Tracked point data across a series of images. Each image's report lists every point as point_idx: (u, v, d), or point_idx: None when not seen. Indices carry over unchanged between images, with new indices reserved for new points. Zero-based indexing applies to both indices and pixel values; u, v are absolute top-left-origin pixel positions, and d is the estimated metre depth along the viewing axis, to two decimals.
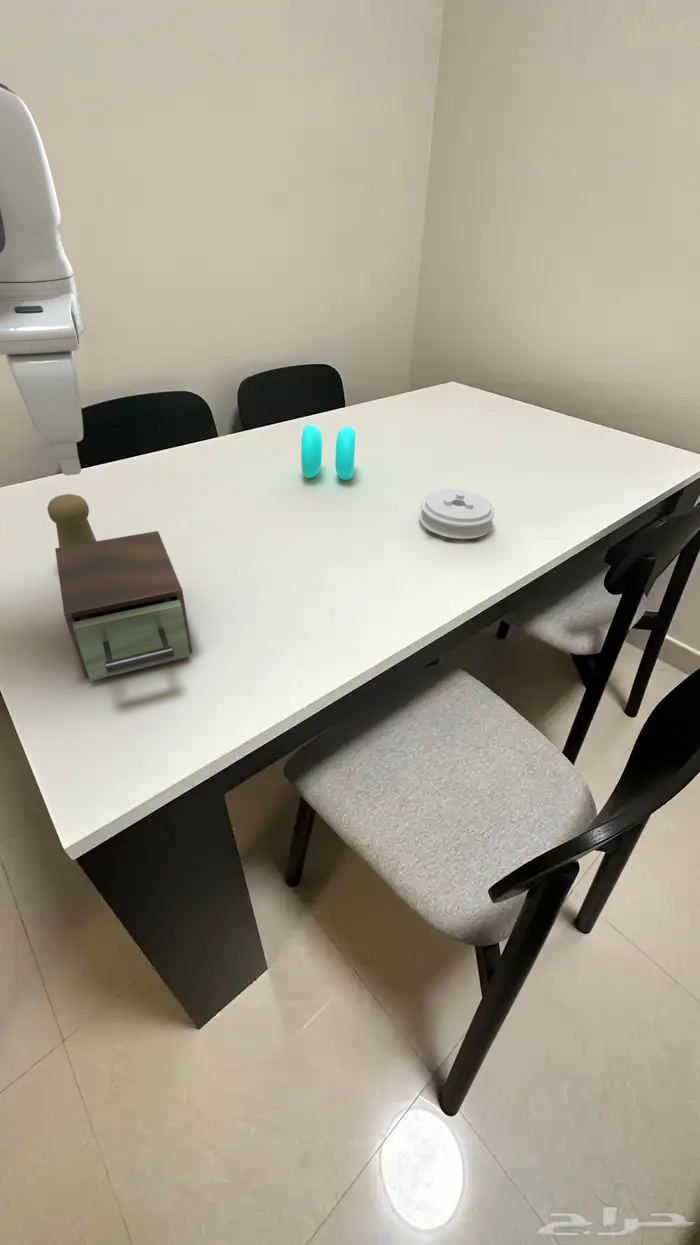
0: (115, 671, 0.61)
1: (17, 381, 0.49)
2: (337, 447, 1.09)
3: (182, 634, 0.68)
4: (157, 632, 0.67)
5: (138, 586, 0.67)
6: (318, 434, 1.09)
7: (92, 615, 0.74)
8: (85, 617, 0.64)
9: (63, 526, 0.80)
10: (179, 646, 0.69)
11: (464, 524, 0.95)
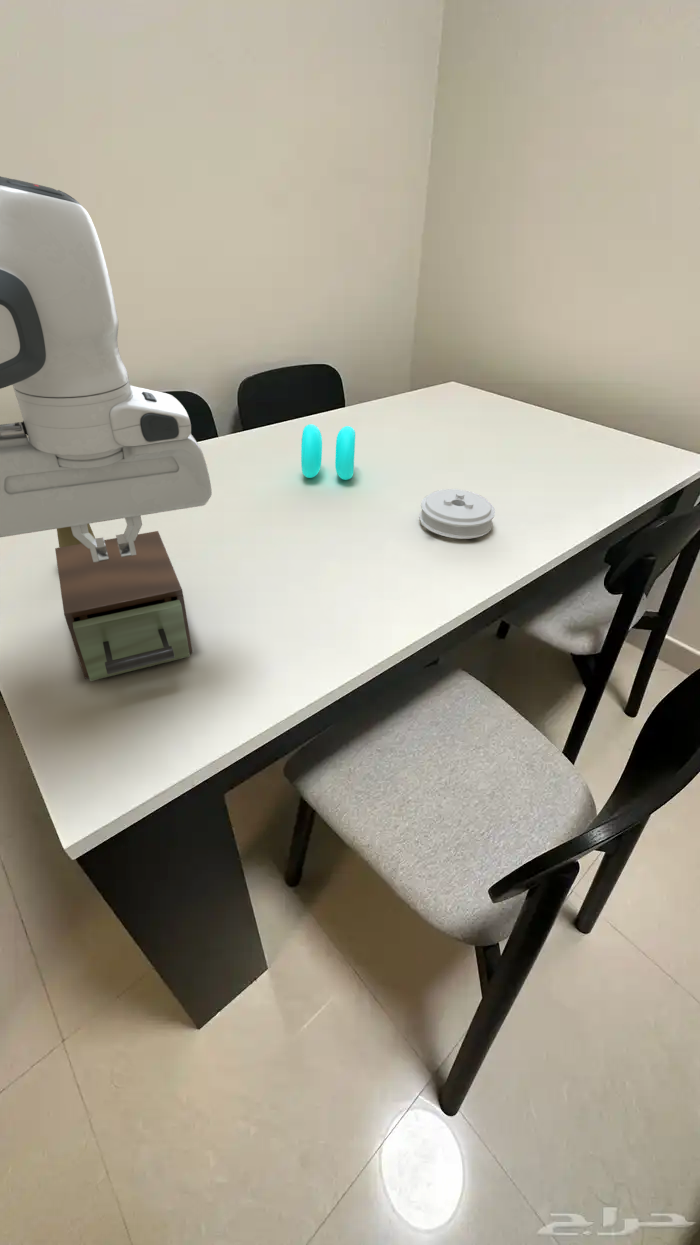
0: (115, 671, 0.61)
1: (201, 453, 0.53)
2: (337, 447, 1.09)
3: (182, 634, 0.68)
4: (157, 632, 0.67)
5: (138, 586, 0.67)
6: (318, 434, 1.09)
7: (92, 615, 0.74)
8: (85, 617, 0.64)
9: None
10: (179, 646, 0.69)
11: (464, 524, 0.95)
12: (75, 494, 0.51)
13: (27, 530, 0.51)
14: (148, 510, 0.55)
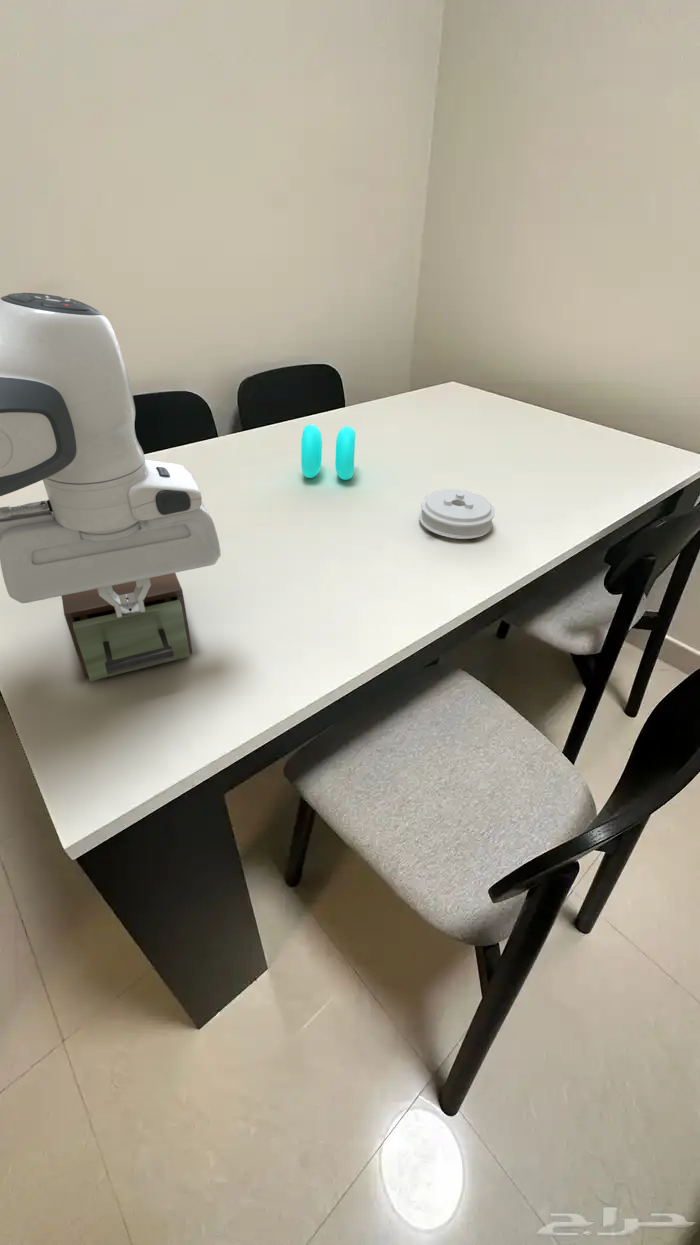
0: (115, 671, 0.61)
1: (211, 520, 0.57)
2: (337, 447, 1.09)
3: (182, 634, 0.68)
4: (157, 632, 0.67)
5: None
6: (318, 434, 1.09)
7: (92, 615, 0.74)
8: (85, 617, 0.64)
9: None
10: (179, 646, 0.69)
11: (464, 524, 0.95)
12: (95, 561, 0.55)
13: (52, 595, 0.56)
14: (162, 571, 0.59)
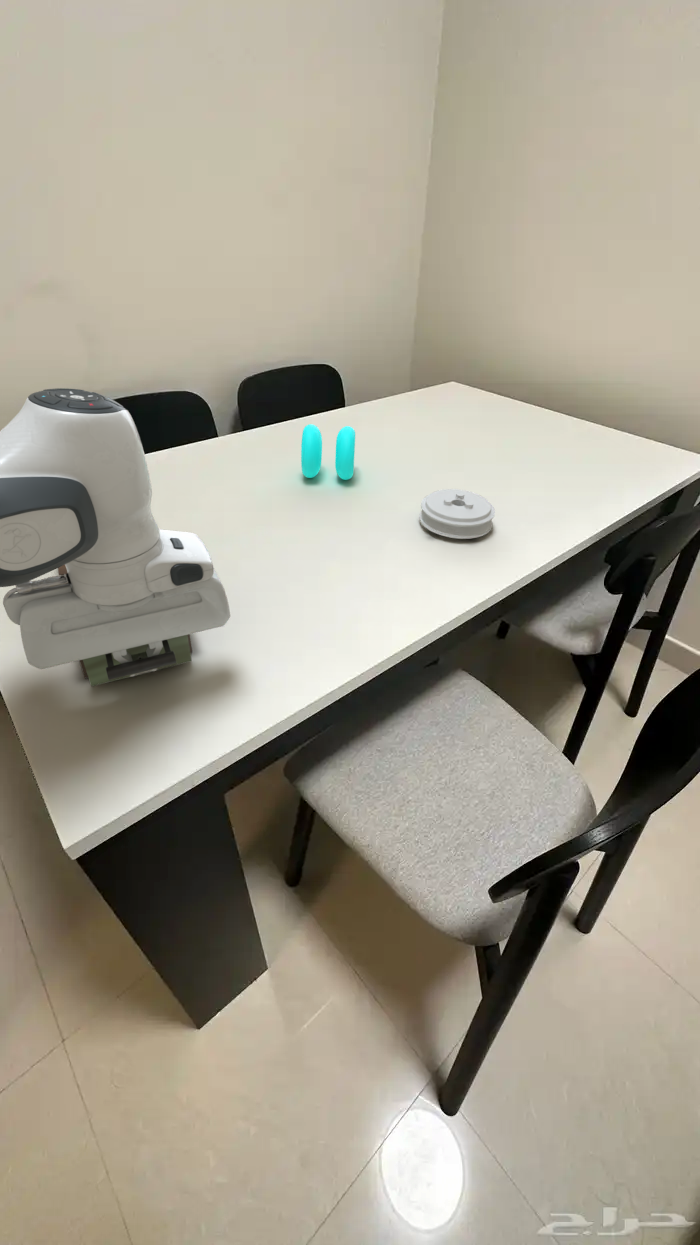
0: (116, 677, 0.61)
1: (222, 587, 0.60)
2: (337, 447, 1.09)
3: (184, 639, 0.68)
4: None
5: None
6: (318, 434, 1.09)
7: None
8: None
9: None
10: (181, 651, 0.69)
11: (464, 524, 0.95)
12: (111, 628, 0.58)
13: (69, 661, 0.58)
14: (174, 634, 0.61)
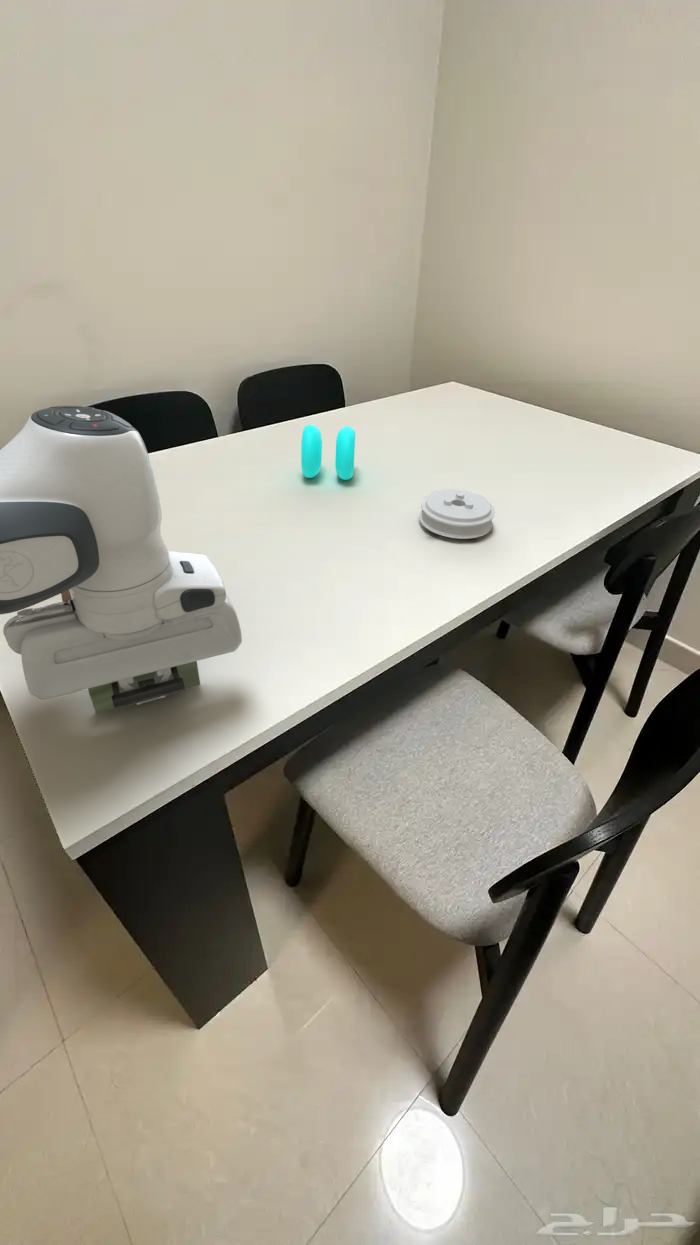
0: (122, 705, 0.58)
1: (234, 612, 0.57)
2: (337, 447, 1.09)
3: (193, 662, 0.65)
4: None
5: None
6: (318, 434, 1.09)
7: None
8: None
9: None
10: (189, 675, 0.65)
11: (464, 524, 0.95)
12: (117, 657, 0.55)
13: (73, 691, 0.55)
14: (183, 661, 0.58)
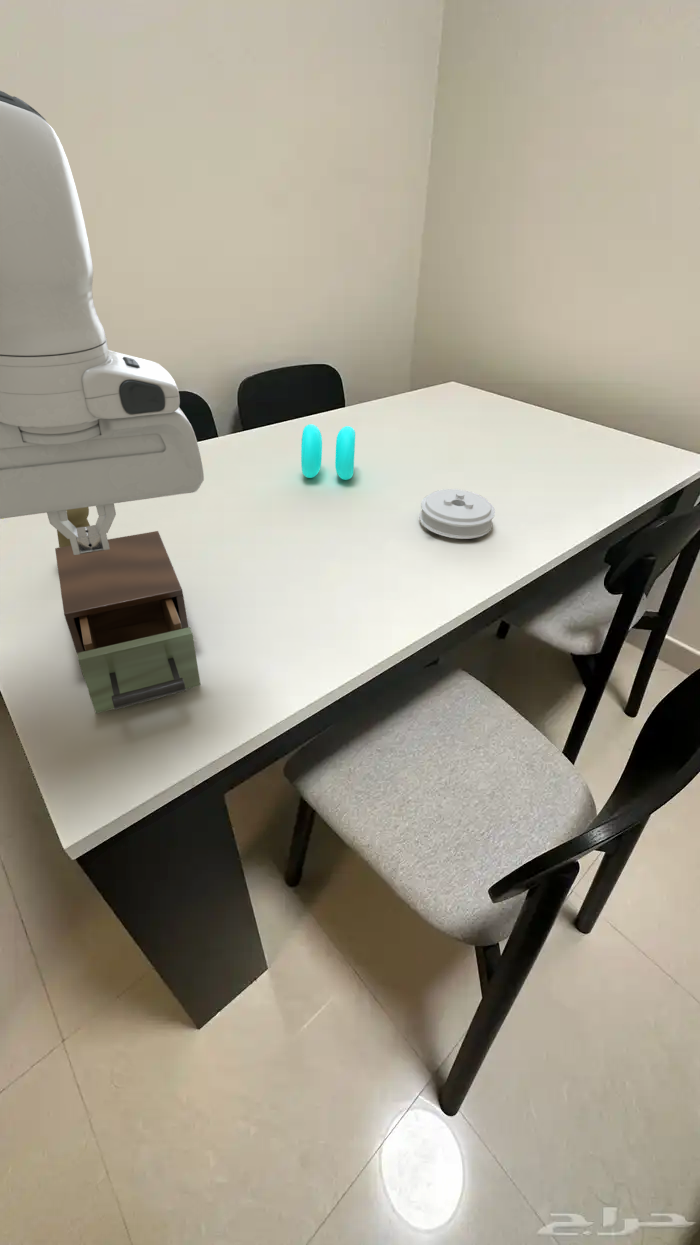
0: (123, 706, 0.58)
1: (191, 430, 0.46)
2: (337, 447, 1.09)
3: (193, 663, 0.64)
4: (166, 661, 0.63)
5: (138, 586, 0.67)
6: (318, 434, 1.09)
7: (97, 640, 0.71)
8: (90, 647, 0.61)
9: None
10: (190, 675, 0.65)
11: (464, 524, 0.95)
12: (43, 475, 0.44)
13: None
14: (130, 496, 0.47)
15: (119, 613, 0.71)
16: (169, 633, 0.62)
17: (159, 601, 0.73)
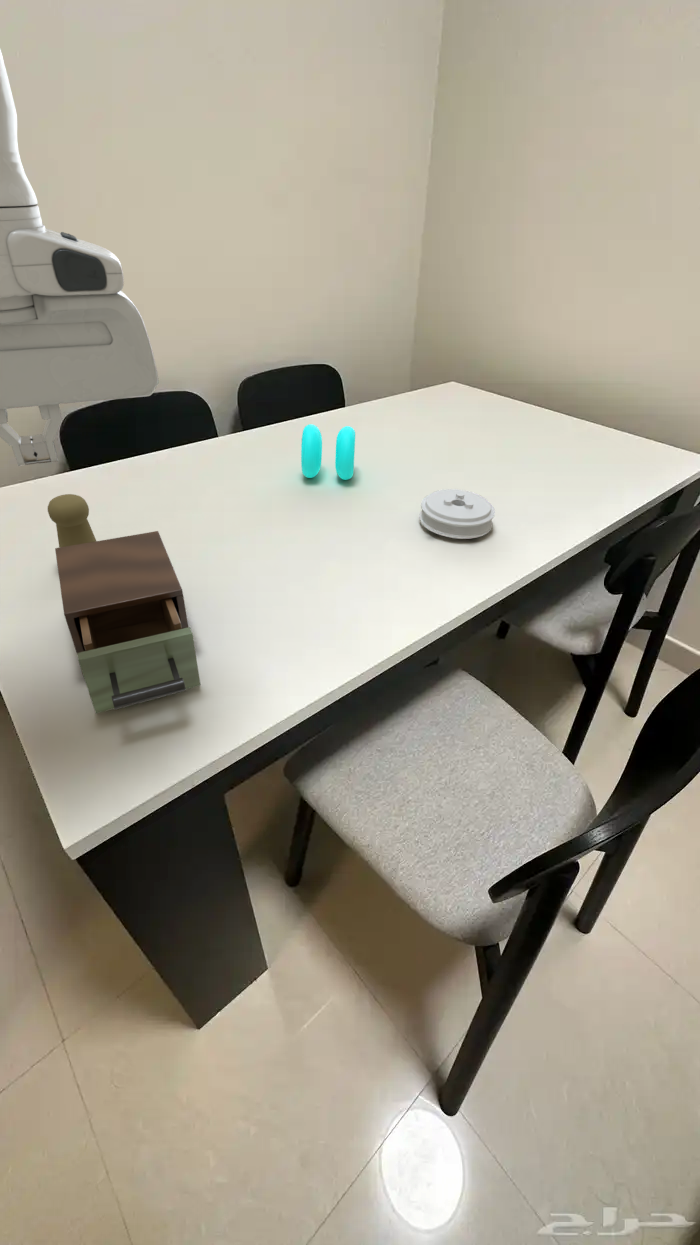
0: (123, 706, 0.58)
1: (140, 319, 0.42)
2: (337, 447, 1.09)
3: (193, 663, 0.64)
4: (166, 661, 0.63)
5: (138, 586, 0.67)
6: (318, 434, 1.09)
7: (97, 640, 0.71)
8: (90, 647, 0.61)
9: (63, 526, 0.80)
10: (190, 675, 0.65)
11: (464, 524, 0.95)
12: None
13: None
14: (76, 395, 0.43)
15: (119, 613, 0.71)
16: (169, 633, 0.62)
17: (159, 601, 0.73)
